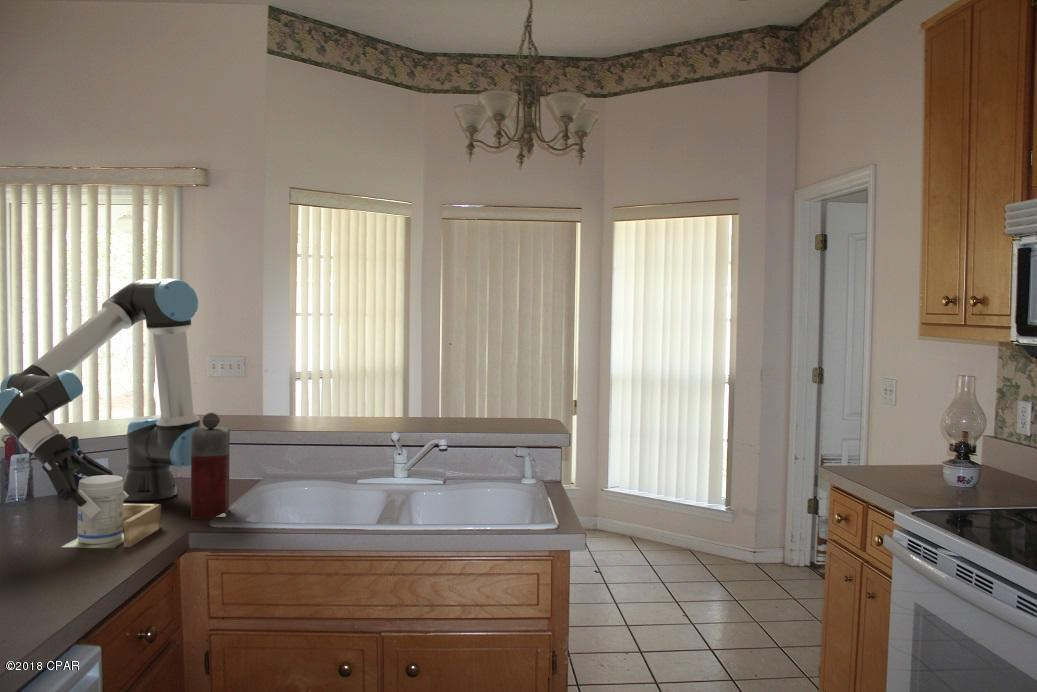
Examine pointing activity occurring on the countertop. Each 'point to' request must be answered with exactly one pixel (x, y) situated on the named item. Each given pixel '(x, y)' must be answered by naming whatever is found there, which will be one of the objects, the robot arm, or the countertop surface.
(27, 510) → the countertop surface
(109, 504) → the supplement tub
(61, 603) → the countertop surface
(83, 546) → the corner arena
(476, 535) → the countertop surface
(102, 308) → the robot arm
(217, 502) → the dark red bottle
